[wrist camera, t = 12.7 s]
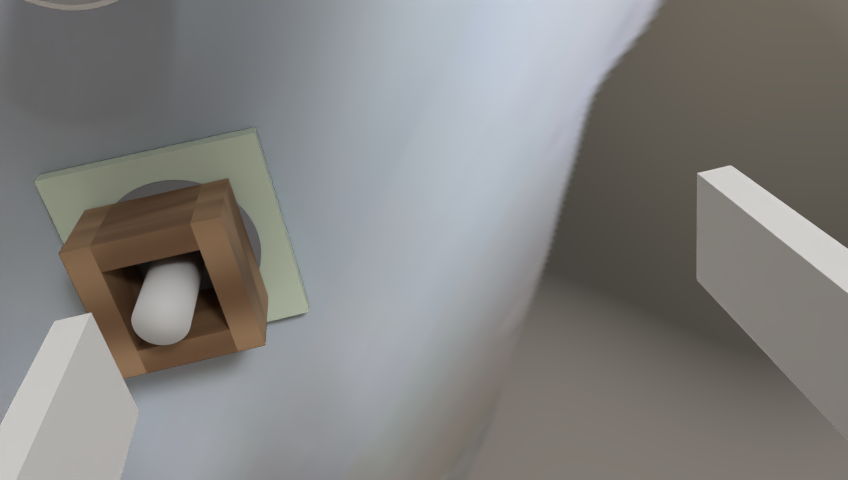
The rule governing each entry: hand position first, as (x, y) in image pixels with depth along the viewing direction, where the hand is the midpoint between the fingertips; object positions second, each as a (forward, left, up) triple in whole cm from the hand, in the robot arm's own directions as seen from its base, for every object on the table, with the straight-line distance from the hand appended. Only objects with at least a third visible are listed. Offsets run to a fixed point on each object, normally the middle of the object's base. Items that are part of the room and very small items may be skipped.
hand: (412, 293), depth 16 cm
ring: (+10, -12, -25) cm, 30 cm away
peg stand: (+10, -12, -27) cm, 31 cm away
